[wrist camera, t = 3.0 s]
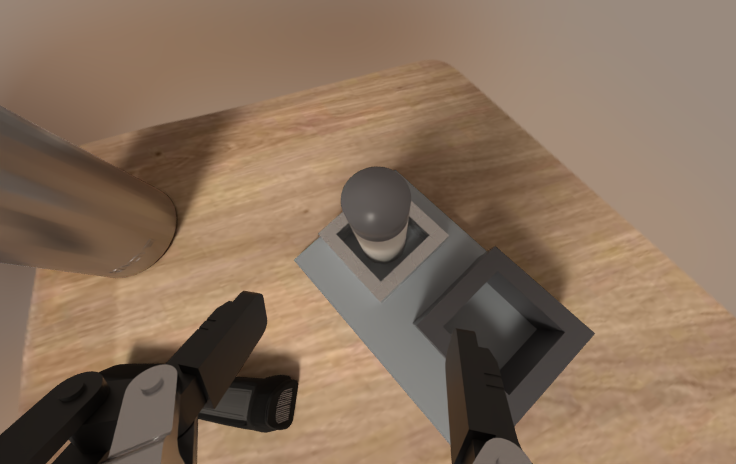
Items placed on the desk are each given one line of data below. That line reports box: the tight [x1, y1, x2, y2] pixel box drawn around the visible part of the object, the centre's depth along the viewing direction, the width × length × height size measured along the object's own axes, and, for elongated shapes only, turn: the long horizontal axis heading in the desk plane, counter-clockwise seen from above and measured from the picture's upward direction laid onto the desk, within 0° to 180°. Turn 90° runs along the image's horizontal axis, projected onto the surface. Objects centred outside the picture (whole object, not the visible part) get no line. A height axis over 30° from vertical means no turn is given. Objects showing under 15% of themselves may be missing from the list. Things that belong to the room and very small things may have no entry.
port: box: [413, 246, 595, 426], centre depth 19 cm, size 8×8×4 cm
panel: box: [294, 170, 537, 445], centre depth 22 cm, size 18×12×1 cm, turn 43°
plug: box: [341, 167, 411, 264], centre depth 19 cm, size 4×4×10 cm
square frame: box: [318, 201, 449, 303], centre depth 22 cm, size 7×7×2 cm
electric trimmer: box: [99, 364, 298, 432], centre depth 21 cm, size 4×16×3 cm, turn 84°
